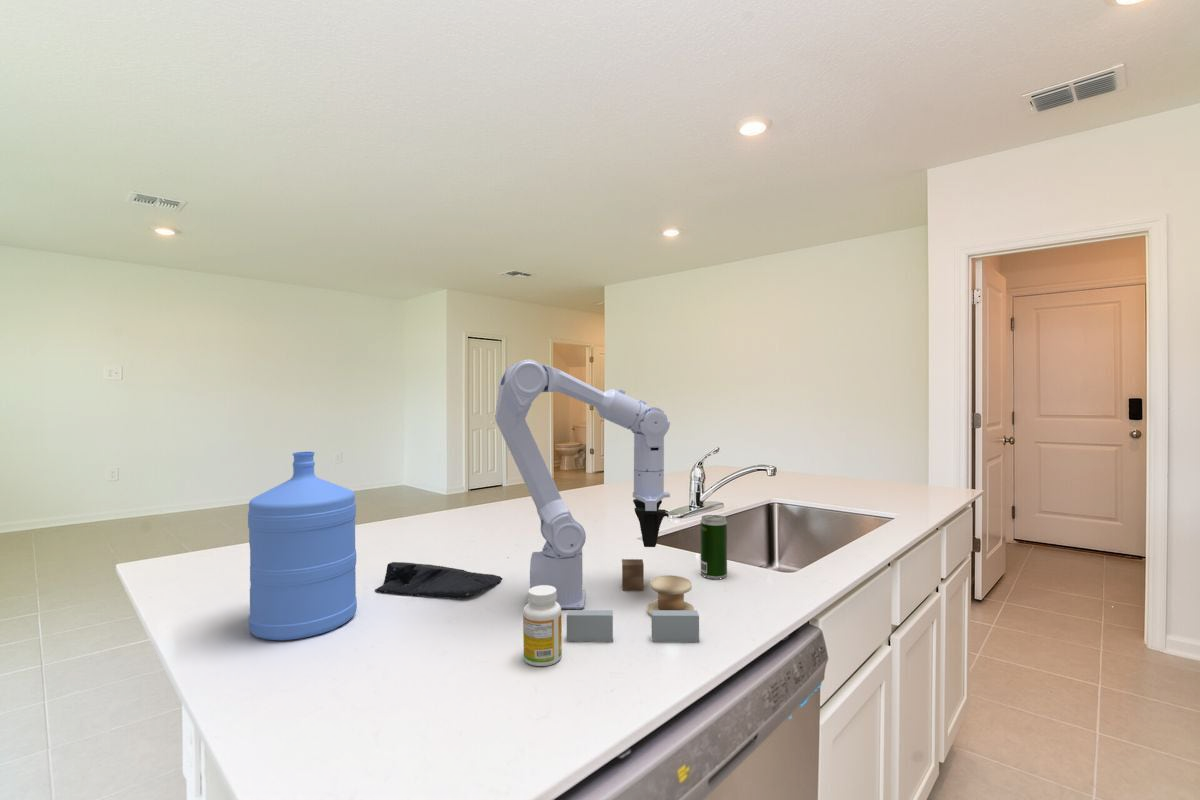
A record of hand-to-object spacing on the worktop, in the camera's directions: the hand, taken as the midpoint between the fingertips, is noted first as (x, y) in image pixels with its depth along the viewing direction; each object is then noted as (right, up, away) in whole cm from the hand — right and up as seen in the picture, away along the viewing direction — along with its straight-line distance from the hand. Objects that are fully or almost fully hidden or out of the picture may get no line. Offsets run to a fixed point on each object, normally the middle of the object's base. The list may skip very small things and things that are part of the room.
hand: (648, 541), depth 102 cm
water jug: (-58, -10, -13) cm, 61 cm away
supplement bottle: (-17, -10, -26) cm, 33 cm away
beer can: (+14, -10, +8) cm, 19 cm away
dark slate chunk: (-41, -10, +3) cm, 42 cm away
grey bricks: (-4, -10, -20) cm, 23 cm away
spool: (+3, -10, -10) cm, 14 cm away
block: (-3, -10, +2) cm, 10 cm away
